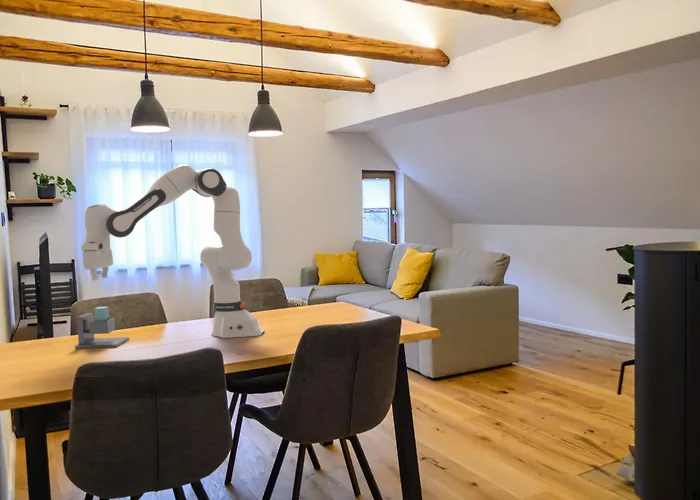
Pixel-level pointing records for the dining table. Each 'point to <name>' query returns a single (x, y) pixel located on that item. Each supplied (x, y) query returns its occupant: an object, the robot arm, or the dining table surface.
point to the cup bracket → (91, 327)
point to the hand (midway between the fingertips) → (100, 278)
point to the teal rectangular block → (101, 313)
